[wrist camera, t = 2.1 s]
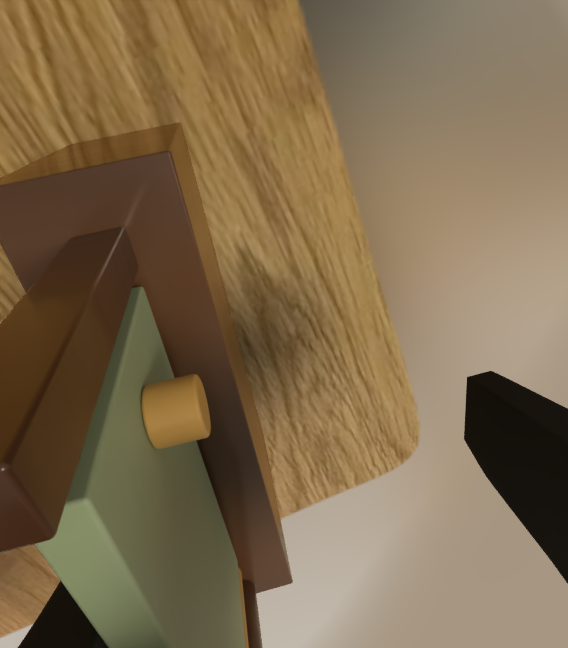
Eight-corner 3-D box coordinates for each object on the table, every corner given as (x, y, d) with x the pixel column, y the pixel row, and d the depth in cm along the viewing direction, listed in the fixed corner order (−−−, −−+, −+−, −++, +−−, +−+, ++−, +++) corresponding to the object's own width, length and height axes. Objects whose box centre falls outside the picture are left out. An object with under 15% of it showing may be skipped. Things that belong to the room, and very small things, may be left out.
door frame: (264, 439, 24) (347, 859, 11) (192, 458, 24) (189, 912, 11) (180, 122, 16) (120, 279, 3) (70, 144, 16) (-532, 427, 3)
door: (270, 569, 16) (307, 805, 11) (221, 582, 16) (234, 828, 10) (187, 275, 10) (179, 477, 5) (108, 292, 10) (12, 518, 5)
